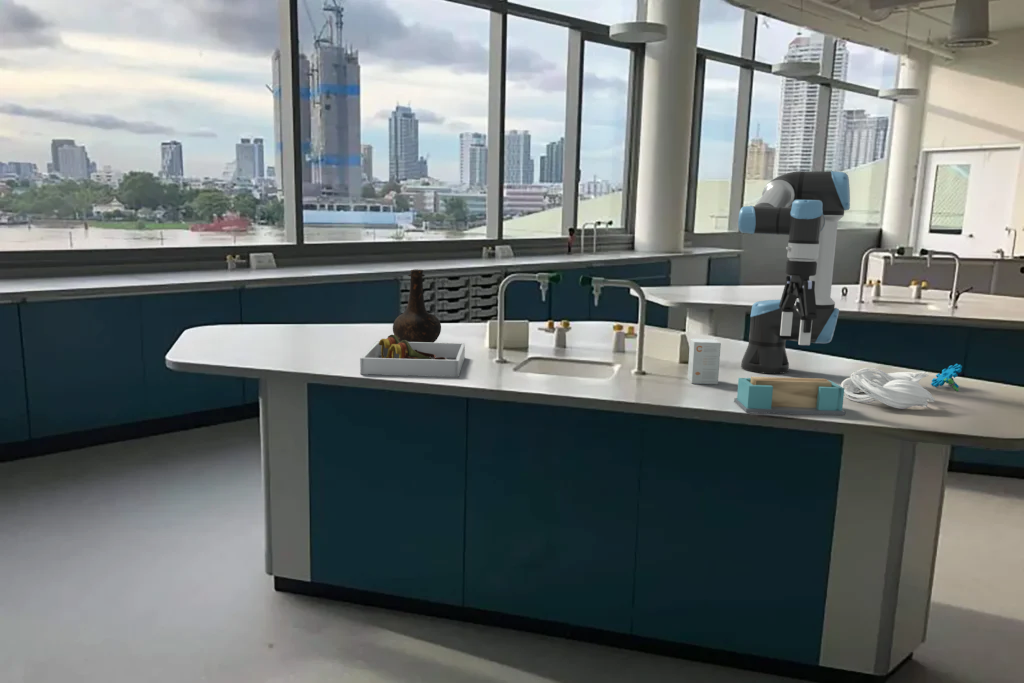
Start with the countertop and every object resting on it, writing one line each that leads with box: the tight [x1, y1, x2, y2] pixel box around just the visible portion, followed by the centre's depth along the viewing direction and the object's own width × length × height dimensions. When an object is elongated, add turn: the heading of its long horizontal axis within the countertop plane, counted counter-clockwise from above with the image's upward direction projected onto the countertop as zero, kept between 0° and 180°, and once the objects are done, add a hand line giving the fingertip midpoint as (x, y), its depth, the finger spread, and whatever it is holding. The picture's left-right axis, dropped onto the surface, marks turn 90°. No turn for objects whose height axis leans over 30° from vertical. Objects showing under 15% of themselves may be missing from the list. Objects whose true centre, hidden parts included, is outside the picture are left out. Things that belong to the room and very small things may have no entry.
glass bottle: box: [392, 268, 442, 343], centre depth 277 cm, size 18×18×28 cm
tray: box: [359, 340, 466, 378], centre depth 244 cm, size 29×30×5 cm
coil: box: [839, 367, 935, 409], centre depth 213 cm, size 25×24×9 cm
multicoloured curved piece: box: [378, 334, 448, 360], centre depth 244 cm, size 24×24×10 cm
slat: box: [750, 376, 833, 408], centre depth 203 cm, size 4×20×7 cm, turn 89°
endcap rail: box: [733, 377, 846, 416], centre depth 203 cm, size 11×26×7 cm, turn 90°
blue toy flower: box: [930, 363, 963, 392], centre depth 232 cm, size 11×6×10 cm
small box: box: [687, 338, 722, 385], centre depth 231 cm, size 8×6×13 cm
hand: (794, 340), depth 200 cm, fingers open, 13 cm apart
